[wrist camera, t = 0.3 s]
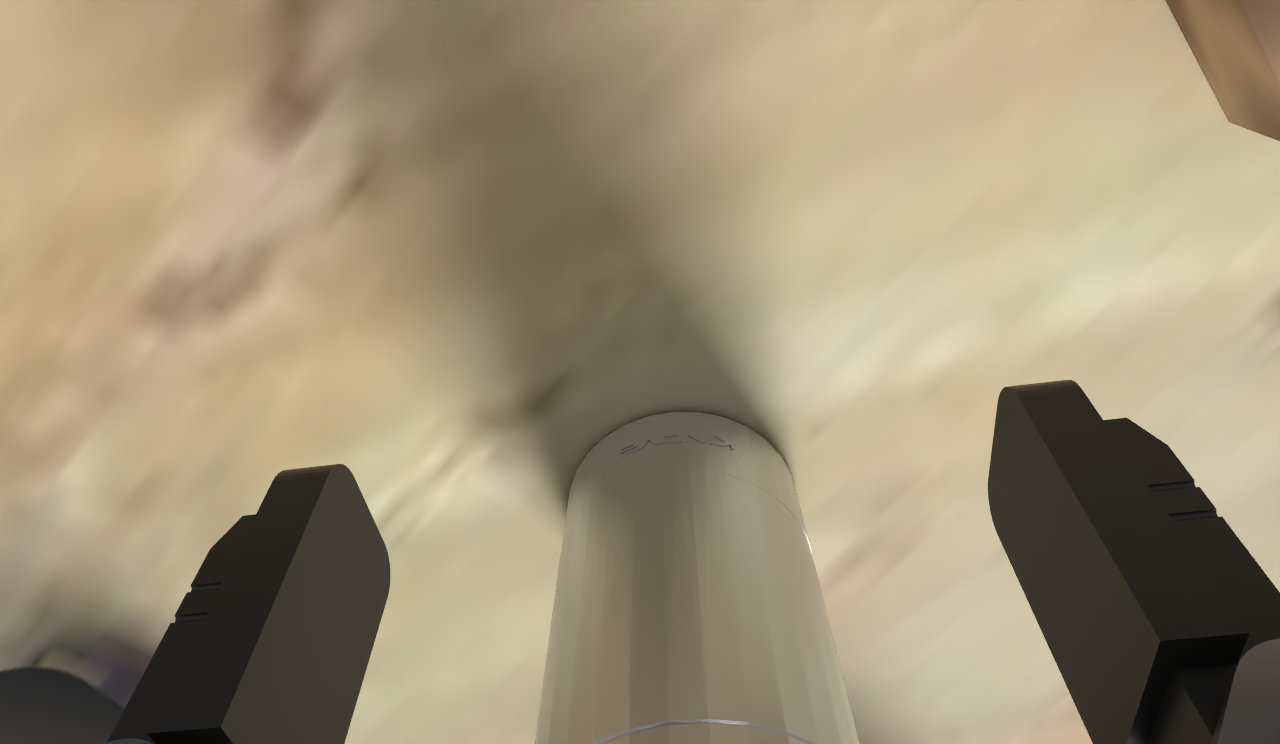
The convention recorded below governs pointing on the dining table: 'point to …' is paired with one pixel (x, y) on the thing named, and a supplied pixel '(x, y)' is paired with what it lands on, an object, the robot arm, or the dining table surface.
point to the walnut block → (1237, 56)
